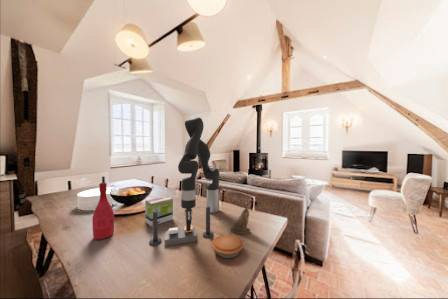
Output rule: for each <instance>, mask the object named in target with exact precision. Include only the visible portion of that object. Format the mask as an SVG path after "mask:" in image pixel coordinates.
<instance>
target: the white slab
mask: <svg viewBox="0 0 448 299" xmlns="http://www.w3.org/2000/svg"><path fill="white" fill-rule="evenodd" d="M177 230H179V227H169V228H168V231H169V232H168V234H174V233H177Z"/></svg>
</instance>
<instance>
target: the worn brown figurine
mask: <svg viewBox="0 0 448 299" xmlns="http://www.w3.org/2000/svg"><path fill="white" fill-rule="evenodd" d="M248 208H249V205H248V204H246V205H245V209H243V211H242V212H241V213H240V216H239V218H237V220H236V221H235V222H234V223H233V224H232V225H231V227H229V228H230V230H229V232H230V233H234V234H238V235H244V236H245V235H246V236H250V234H251V229H250V228H248V224H249V220H250V219H249V216H250V211H249V209H248Z"/></svg>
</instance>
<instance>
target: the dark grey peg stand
mask: <svg viewBox="0 0 448 299" xmlns="http://www.w3.org/2000/svg"><path fill="white" fill-rule="evenodd" d="M202 237H203V238H205V239H210V238H212V237H214V231H211V213H210V207H209V206H207V205H206V206H205V231H204V232H203V233H202Z"/></svg>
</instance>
